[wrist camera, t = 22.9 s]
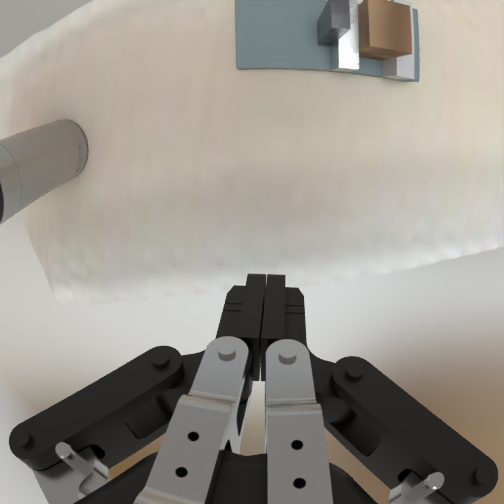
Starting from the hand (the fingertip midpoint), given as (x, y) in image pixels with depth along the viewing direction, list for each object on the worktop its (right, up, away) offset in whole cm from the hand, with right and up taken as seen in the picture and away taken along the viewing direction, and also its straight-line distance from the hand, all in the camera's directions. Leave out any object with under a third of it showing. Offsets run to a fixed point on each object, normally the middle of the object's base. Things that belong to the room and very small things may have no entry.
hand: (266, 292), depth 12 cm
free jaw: (+8, +26, +14) cm, 30 cm away
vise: (+8, +26, +15) cm, 31 cm away
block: (+12, +25, +14) cm, 31 cm away
